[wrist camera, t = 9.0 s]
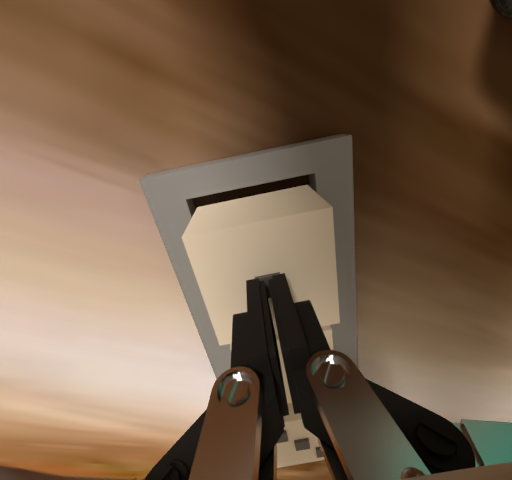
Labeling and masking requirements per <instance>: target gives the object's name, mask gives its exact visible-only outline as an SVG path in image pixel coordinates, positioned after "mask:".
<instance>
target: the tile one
mask: <svg viewBox="0 0 512 480" xmlns="http://www.w3.org/2000/svg"><path fill="white" fill-rule="evenodd" d="M182 240H183V243H184V246H185V249H186V251H187V254H188V257H189V260H190V263H191V266H192V268H193V271H194V274H195V277H196V280H197V283H198V285H199V288H200V291H201V294H202V297H203V300H204V303H205V305H206V308H207V311H208V314H209V317H210V320H211V322H212V325H213V328H214V331H215V334H216V337H217V339H218V342H219V345H220V346H221V345H226V344H232V322H233V315H234V314H238V313H244V312H247V293H246V280H251V279H256V278H259V281H264V282H265V287H266V292H267V296H268V301H269V306H270V310H271V315H272V320H273V325H274V329H275V334H276V335H278V331H277V325H276V320H275V315H274V309H273V304H272V299H271V293H270V288H269V282H268V280H269V279H273V277H272V275H277V274H282V273H285V276H286V279H287V282H288V285H289V289H290V292H291V295H292V298H293V301H294V303H295V302H300V301H305V300H310V302H311V304H312V306H313V308H314V311H315V313H316V316H317V318H318V321H319V323H320V325H321V327H322V326H327V325H332V324H338V323H340V316H339V300H338V284H337V269H336V253H335V237H334V221H333V207H332V206H331V205H330V204H329V203H328V202H326V201H325V200H324V199H323V198H322V197H321V196H320V195H318V194H317V193H316V192H315V191H314V190H313V189H312V188H311V187H309V186H308V185H303V186H298V187H293V188H288V189H283V190H278V191H273V192H269V193H264V194H259V195H254V196H249V197H244V198H239V199H234V200H230V201H225V202H220V203H215V204H210V205H205V206H200V207H197V209H196V211H195V213H194V214H193V216H192V218H191V220H190V222H189V224H188V226H187V228H186V230H185V232H184V234H183V236H182Z"/></svg>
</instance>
